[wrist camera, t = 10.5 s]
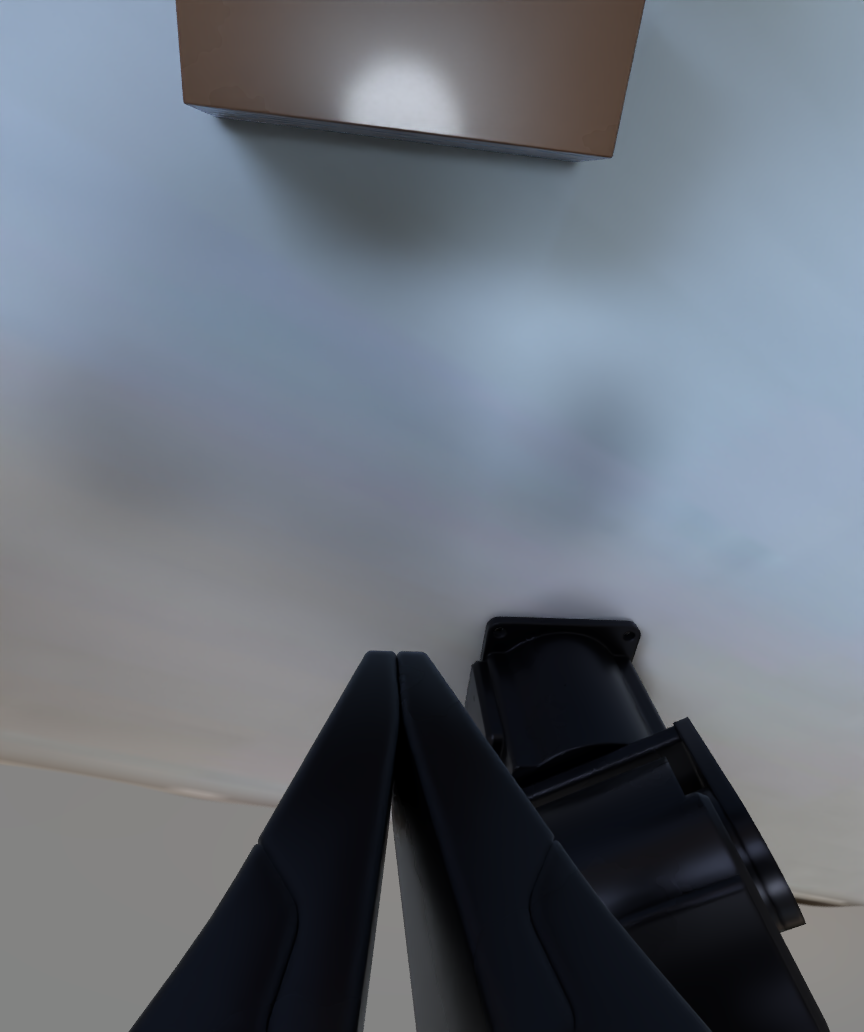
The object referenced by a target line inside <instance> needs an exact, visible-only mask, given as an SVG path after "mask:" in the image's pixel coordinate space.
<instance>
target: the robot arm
mask: <svg viewBox="0 0 864 1032" xmlns="http://www.w3.org/2000/svg"><path fill="white" fill-rule="evenodd" d="M497 628H503V629H502V630H501V631H495V629H497ZM627 632H630V633H629V634H627V635H624V634H625V633H627ZM640 636H641V633H640V630H639V629H638V627H637V625H636V624H635V623H634V622H632V621H619V620H589V619H559V618H529V617H494V618H492V619H491V620H490V621H489V622H488V623H487V625H486V630H485V635H484V641H483V646H482V652H481V657H480V661H476V662H475V663H474V664H473V665H472V667H471V672H470V678H469V684H468V690H467V695H466V701H465V708H464V707H463V705H462V704H461V702H460V701H459V699H458V698H457V697H456V695H455V694H454V692H453V691H452V689H451V688H450V687H449V685H448V684H447V682H446V681H445V680H444V678H443V677H442V675H441V674H440V672H439V671H438V670H437V668H436V667H435V665H434V664H433V662H432V661H431V660H430V658H429V657H428V655H427V654H426V653H424V652H409V651H401V652H399V653H398V654H397V655H396V654H395V653H394V652H393V651H368V652H367V653H366V654H365V656H364V657H363V659H362V661H361V662H360V664H359V666H358V668H357V669H356V671H355V673H354V675H353V676H352V678H351V680H350V681H349V683H348V685H347V687H346V688H345V690H344V692H343V694H342V695H341V697H340V699H339V700H338V702H337V704H336V706H335V707H334V709H333V711H332V713H331V714H330V716H329V718H328V719H327V721H326V723H325V725H324V726H323V728H322V730H321V732H320V733H319V735H318V737H317V738H316V740H315V742H314V744H313V745H312V747H311V749H310V751H309V752H308V754H307V756H306V758H305V759H304V761H303V763H302V764H301V766H300V768H299V770H298V771H297V773H296V775H295V777H294V778H293V780H292V782H291V783H290V785H289V787H288V789H287V790H286V792H285V794H284V796H283V797H282V799H281V801H280V802H279V804H278V806H277V808H276V809H275V811H274V813H273V815H272V817H271V818H270V820H269V822H268V823H267V825H266V827H265V828H264V830H263V832H262V834H261V835H260V837H259V839H258V844H256V845H255V846H254V847H253V849H252V850H251V852H250V854H249V855H248V857H247V859H246V861H245V862H244V864H243V866H242V868H241V869H240V871H239V873H238V874H237V876H236V878H235V879H234V881H233V882H232V884H231V886H230V887H229V889H228V891H227V892H226V894H225V895H224V897H223V899H222V900H221V902H220V903H219V905H218V907H217V908H216V910H215V911H214V913H213V915H212V916H211V918H210V919H209V921H208V922H207V924H206V925H205V927H204V928H203V929H202V931H201V932H200V934H199V935H198V937H197V938H196V939H195V941H194V942H193V944H192V945H191V947H190V948H189V950H188V951H187V952H186V954H185V955H184V957H183V958H182V960H181V961H180V963H179V964H178V965H177V967H176V968H175V970H174V971H173V972H172V974H171V975H170V976H169V978H168V979H167V980H166V982H165V983H164V985H163V986H162V987H161V989H160V990H159V991H158V993H157V994H156V996H155V997H154V998H153V1000H152V1001H151V1002H150V1004H149V1005H148V1007H147V1008H146V1009H145V1010H144V1012H143V1013H142V1015H141V1016H140V1017H139V1018H138V1020H137V1021H136V1023H135V1024H134V1025H133V1027H132V1028H131V1029H130V1031H129V1032H363V1029H364V1021H365V1013H366V1005H367V997H368V989H369V981H370V973H371V965H372V957H373V949H374V941H375V933H376V925H377V917H378V909H379V901H380V893H381V885H382V878H383V869H384V862H385V854H386V845H387V838H388V829H389V820H390V811H391V803H392V821H393V831H394V840H395V849H396V857H397V865H398V875H399V884H400V892H401V900H402V909H403V917H404V927H405V935H406V944H407V953H408V962H409V970H410V979H411V988H412V996H413V1004H414V1014H415V1022H416V1031H417V1032H830V1031H829V1028H828V1026H827V1023H826V1021H825V1019H824V1017H823V1015H822V1013H821V1011H820V1009H819V1007H818V1006H817V1004H816V1002H815V1000H814V998H813V996H812V994H811V992H810V990H809V988H808V986H807V984H806V982H805V981H804V978H803V976H802V975H801V973H800V971H799V969H798V967H797V965H796V963H795V961H794V959H793V957H792V955H791V953H790V951H789V949H788V947H787V946H786V944H785V942H784V940H783V938H782V936H781V934H780V933H781V932H784V931H786V930H789V929H792V928H795V927H798V926H801V925H804V924H806V923H805V920H804V917H803V915H802V913H801V911H800V908H799V906H798V904H797V902H796V900H795V898H794V896H793V894H792V892H791V890H790V888H789V886H788V884H787V882H786V880H785V878H784V876H783V874H782V873H781V871H780V869H779V867H778V865H777V863H776V861H775V859H774V858H773V856H772V854H771V852H770V850H769V849H768V847H767V845H766V843H765V841H764V839H763V838H762V836H761V834H760V832H759V831H758V829H757V827H756V825H755V824H754V822H753V820H752V818H751V817H750V815H749V813H748V812H747V810H746V808H745V806H744V805H743V803H742V801H741V800H740V798H739V797H738V795H737V793H736V792H735V790H734V789H733V787H732V786H731V784H730V782H729V781H728V779H727V778H726V776H725V775H724V773H723V771H722V770H721V768H720V767H719V765H718V764H717V762H716V760H715V759H714V757H713V756H712V754H711V753H710V751H709V749H708V748H707V746H706V745H705V743H704V742H703V740H702V738H701V737H700V735H699V734H698V732H697V731H696V729H695V727H694V726H693V724H692V723H691V721H690V720H689V718H688V717H686V718H684V719H682V720H679V721H677V722H674V723H673V724H674V726H672V727H670V728H667V729H666V727H665V725H664V723H663V721H662V720H661V718H660V716H659V714H658V712H657V710H656V708H655V706H654V704H653V703H652V701H651V699H650V697H649V695H648V693H647V691H646V689H645V687H644V686H643V684H642V682H641V680H640V678H639V676H638V674H637V672H636V670H635V669H634V667H633V665H632V660H633V657H634V654H635V651H636V648H637V645H638V642H639V639H640Z"/></svg>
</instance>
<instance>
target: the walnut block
mask: <svg viewBox="0 0 864 1032" xmlns="http://www.w3.org/2000/svg"><path fill="white" fill-rule="evenodd" d="M644 5H645V0H176V12H177V25H178V38H179V51H180V64H181V77H182V90H183V102H184V104H186V105H189V106H191V107H193V108H196V109H198V110H201V111H203V112H205V113H208V114H210V115H213V116H215V117H220V118H228V119H236V120H244V121H252V122H260V123H268V124H276V125H284V126H292V127H300V128H308V129H316V130H324V131H332V132H340V133H348V134H356V135H364V136H372V137H380V138H388V139H396V140H404V141H412V142H420V143H428V144H436V145H444V146H452V147H460V148H468V149H476V150H484V151H492V152H500V153H508V154H516V155H524V156H532V157H540V158H548V159H556V160H564V161H572V162H580V161H589V160H598V159H607V158H612V156H613V152H614V148H615V143H616V138H617V133H618V129H619V124H620V119H621V114H622V110H623V105H624V100H625V95H626V90H627V86H628V81H629V76H630V71H631V67H632V62H633V57H634V52H635V47H636V43H637V38H638V33H639V28H640V24H641V19H642V14H643V9H644Z"/></svg>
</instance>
